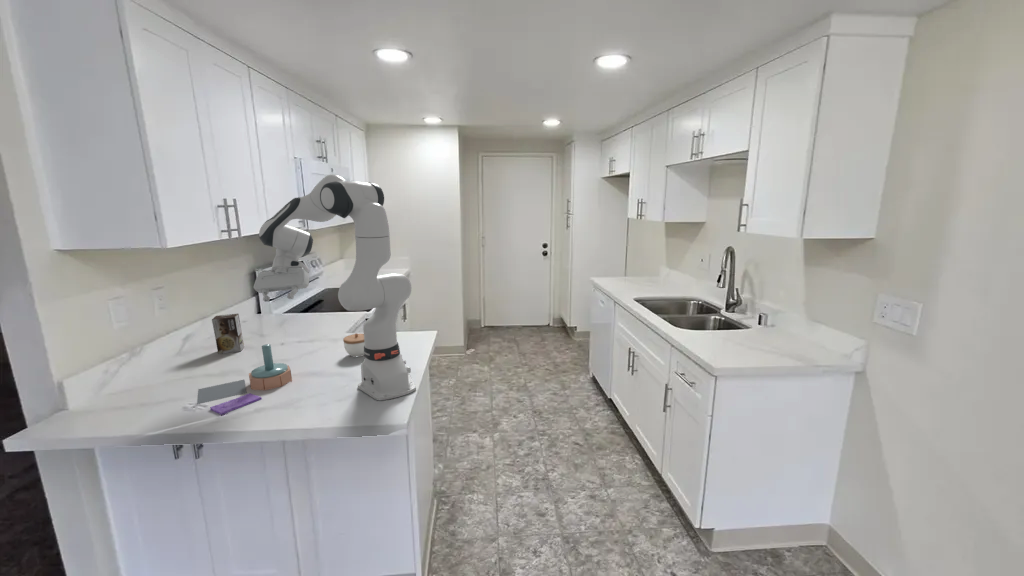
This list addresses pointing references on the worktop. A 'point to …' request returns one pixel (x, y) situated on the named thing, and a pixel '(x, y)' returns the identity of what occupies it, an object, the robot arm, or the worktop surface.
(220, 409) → the sponges
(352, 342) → the lidded jar
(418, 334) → the worktop surface
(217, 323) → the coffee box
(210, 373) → the worktop surface
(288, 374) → the bowl
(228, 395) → the mat
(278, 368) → the lid
